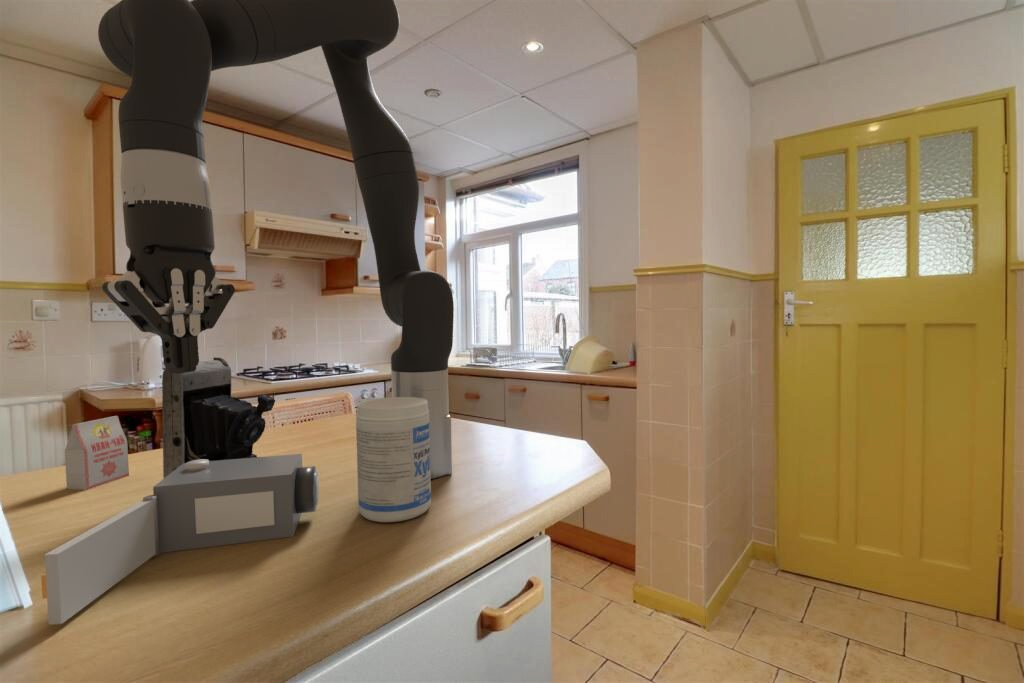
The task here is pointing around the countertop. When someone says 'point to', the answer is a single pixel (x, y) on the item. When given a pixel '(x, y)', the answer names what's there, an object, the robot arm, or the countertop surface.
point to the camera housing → (233, 501)
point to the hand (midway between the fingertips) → (182, 372)
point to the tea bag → (96, 454)
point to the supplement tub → (393, 458)
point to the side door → (99, 559)
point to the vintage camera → (207, 417)
